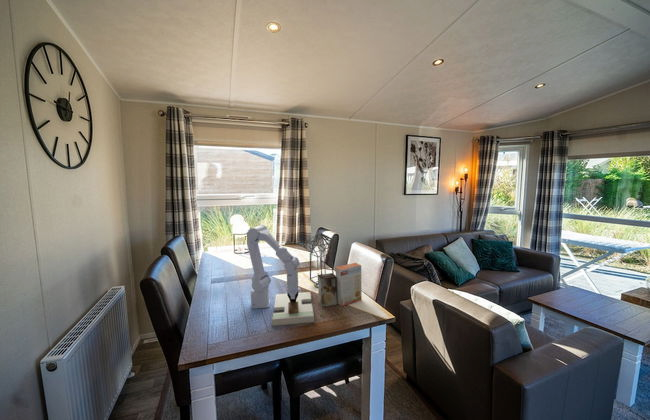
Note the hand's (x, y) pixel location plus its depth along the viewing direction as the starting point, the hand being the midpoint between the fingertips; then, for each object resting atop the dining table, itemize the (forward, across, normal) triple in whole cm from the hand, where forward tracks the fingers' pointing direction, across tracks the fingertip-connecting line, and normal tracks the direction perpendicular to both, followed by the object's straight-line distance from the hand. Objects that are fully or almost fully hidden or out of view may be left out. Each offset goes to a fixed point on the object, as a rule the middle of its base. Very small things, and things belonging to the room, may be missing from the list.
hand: (293, 305), depth 129 cm
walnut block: (+1, -4, 0) cm, 4 cm away
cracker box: (+3, +5, -31) cm, 31 cm away
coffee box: (+3, +5, -19) cm, 20 cm away
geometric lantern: (+3, +28, -18) cm, 33 cm away
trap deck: (+3, +2, 0) cm, 3 cm away
